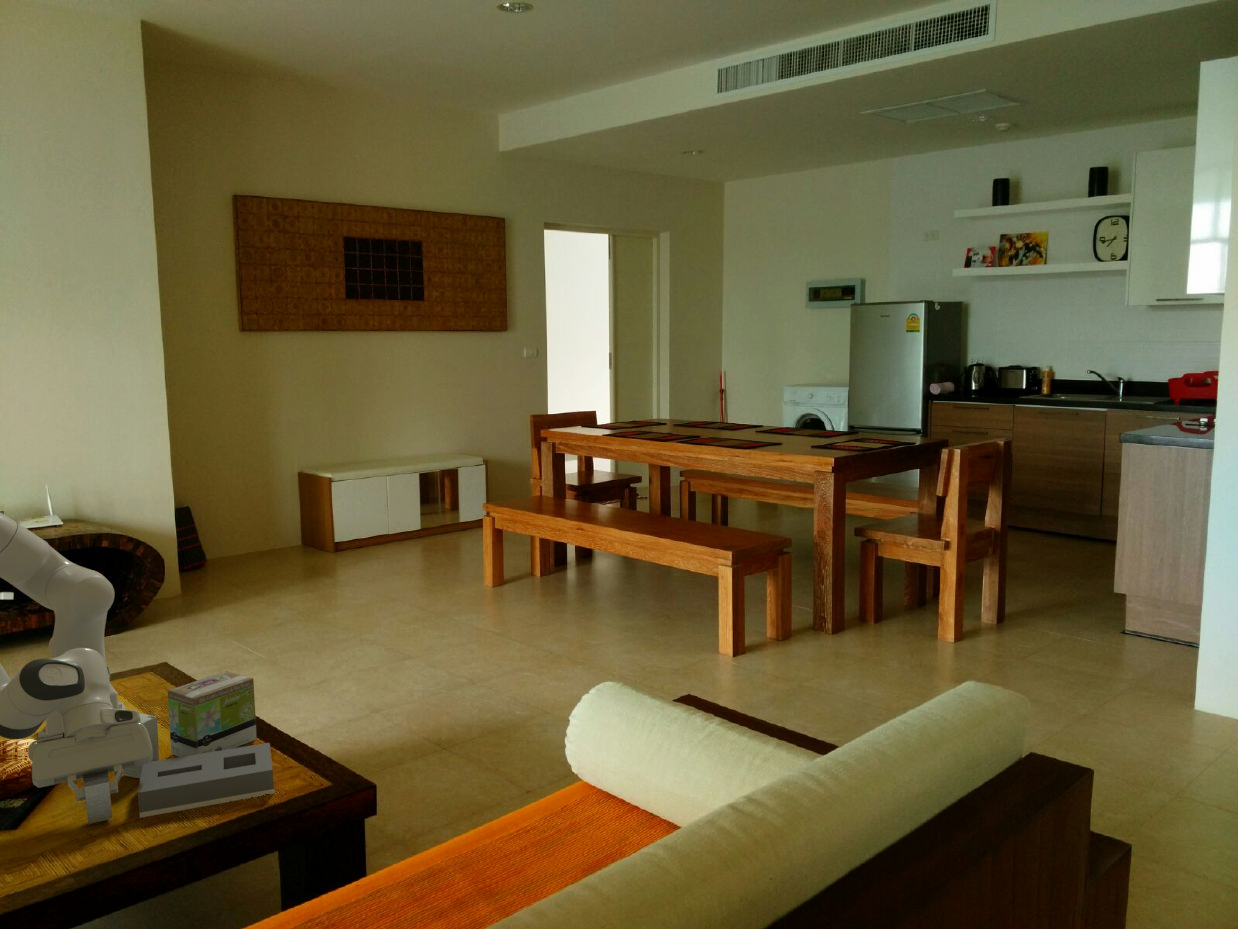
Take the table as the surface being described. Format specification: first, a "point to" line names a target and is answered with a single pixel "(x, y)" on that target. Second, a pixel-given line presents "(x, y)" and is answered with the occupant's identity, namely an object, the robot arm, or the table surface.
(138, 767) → the skincare box
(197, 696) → the tea box
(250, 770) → the caddy
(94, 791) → the grey square-topped block
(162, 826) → the table surface
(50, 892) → the table surface
